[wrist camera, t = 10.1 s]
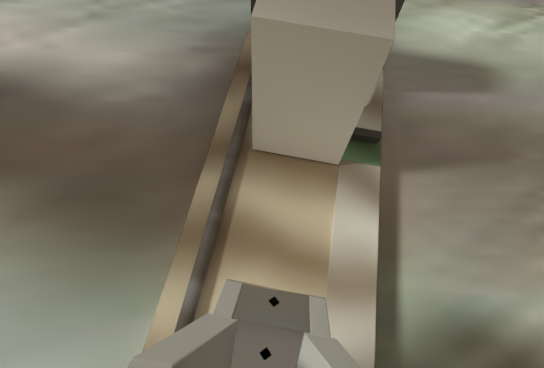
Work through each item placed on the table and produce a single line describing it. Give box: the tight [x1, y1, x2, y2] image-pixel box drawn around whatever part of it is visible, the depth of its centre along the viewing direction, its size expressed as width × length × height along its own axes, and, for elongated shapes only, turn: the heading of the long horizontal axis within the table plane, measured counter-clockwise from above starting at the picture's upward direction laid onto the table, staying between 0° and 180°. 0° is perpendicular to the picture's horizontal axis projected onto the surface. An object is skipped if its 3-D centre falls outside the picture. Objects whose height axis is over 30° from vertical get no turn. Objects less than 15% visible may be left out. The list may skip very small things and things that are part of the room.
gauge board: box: [143, 32, 384, 368], centre depth 22 cm, size 26×12×2 cm, turn 170°
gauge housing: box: [251, 0, 395, 165], centre depth 19 cm, size 7×9×10 cm
